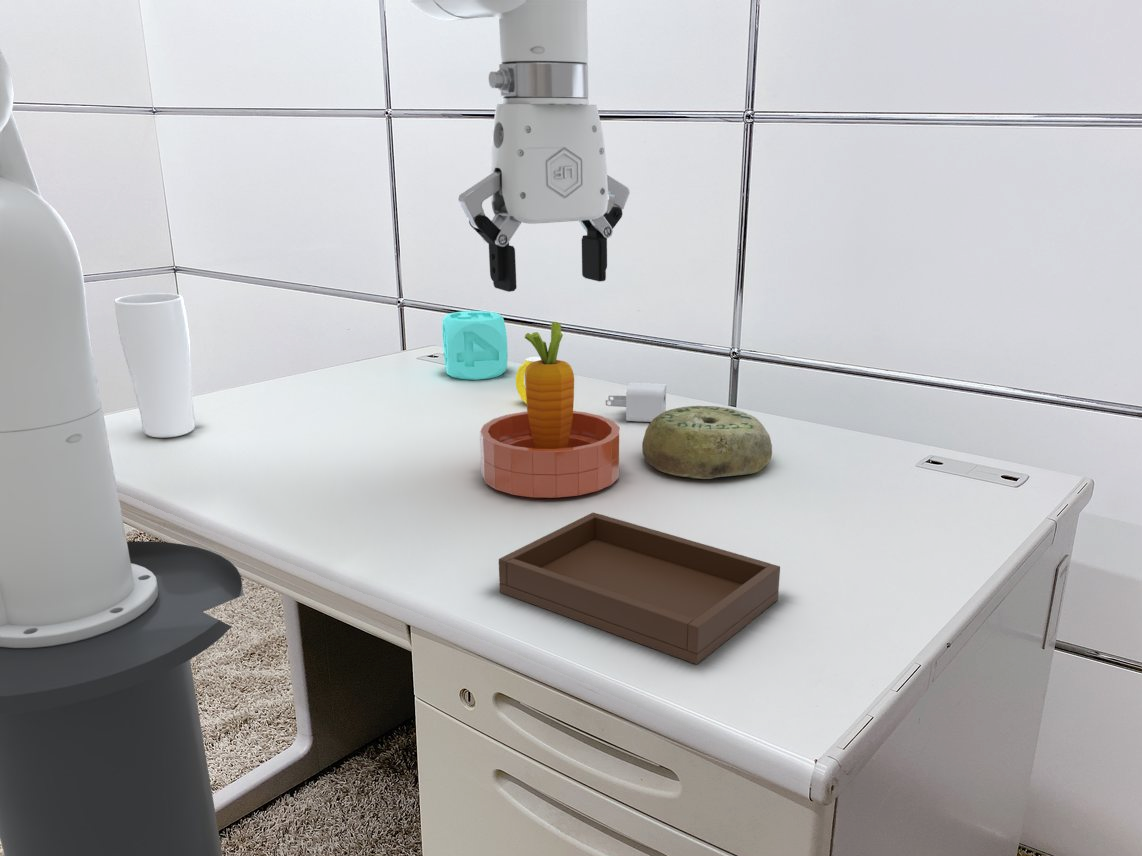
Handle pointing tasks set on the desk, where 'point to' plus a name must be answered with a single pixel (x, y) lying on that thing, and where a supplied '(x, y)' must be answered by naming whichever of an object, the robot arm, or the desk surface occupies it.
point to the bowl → (550, 457)
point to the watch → (520, 377)
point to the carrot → (549, 393)
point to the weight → (706, 442)
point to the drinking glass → (158, 360)
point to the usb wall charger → (642, 401)
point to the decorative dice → (474, 345)
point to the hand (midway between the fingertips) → (550, 284)
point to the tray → (642, 584)
